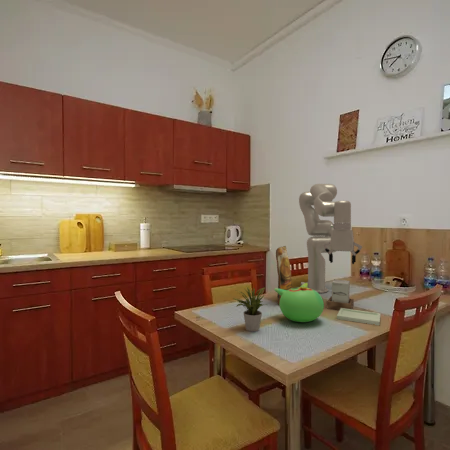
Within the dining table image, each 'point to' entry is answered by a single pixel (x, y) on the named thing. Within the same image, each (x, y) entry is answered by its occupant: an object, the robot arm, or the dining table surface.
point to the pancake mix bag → (283, 270)
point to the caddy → (339, 304)
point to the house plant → (252, 309)
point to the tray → (359, 316)
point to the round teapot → (300, 303)
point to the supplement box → (340, 291)
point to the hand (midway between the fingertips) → (342, 263)
